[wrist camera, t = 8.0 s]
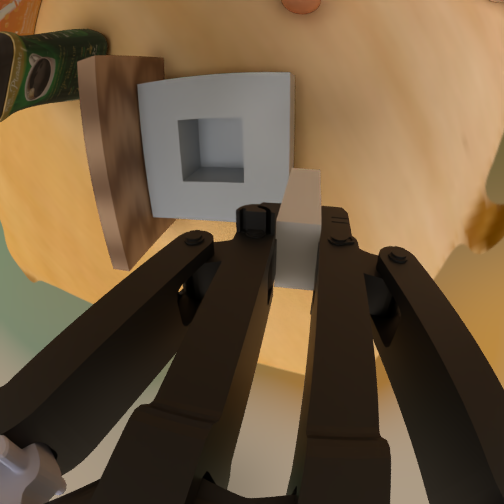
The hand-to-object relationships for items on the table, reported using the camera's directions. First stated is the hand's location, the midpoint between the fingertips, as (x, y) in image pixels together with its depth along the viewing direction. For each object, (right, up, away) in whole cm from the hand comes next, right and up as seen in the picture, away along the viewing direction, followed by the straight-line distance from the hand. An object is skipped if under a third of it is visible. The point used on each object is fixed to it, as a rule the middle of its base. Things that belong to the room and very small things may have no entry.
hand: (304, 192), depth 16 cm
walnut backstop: (-13, +10, +17) cm, 23 cm away
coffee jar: (-24, +21, +12) cm, 34 cm away
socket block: (-5, +9, +15) cm, 18 cm away
